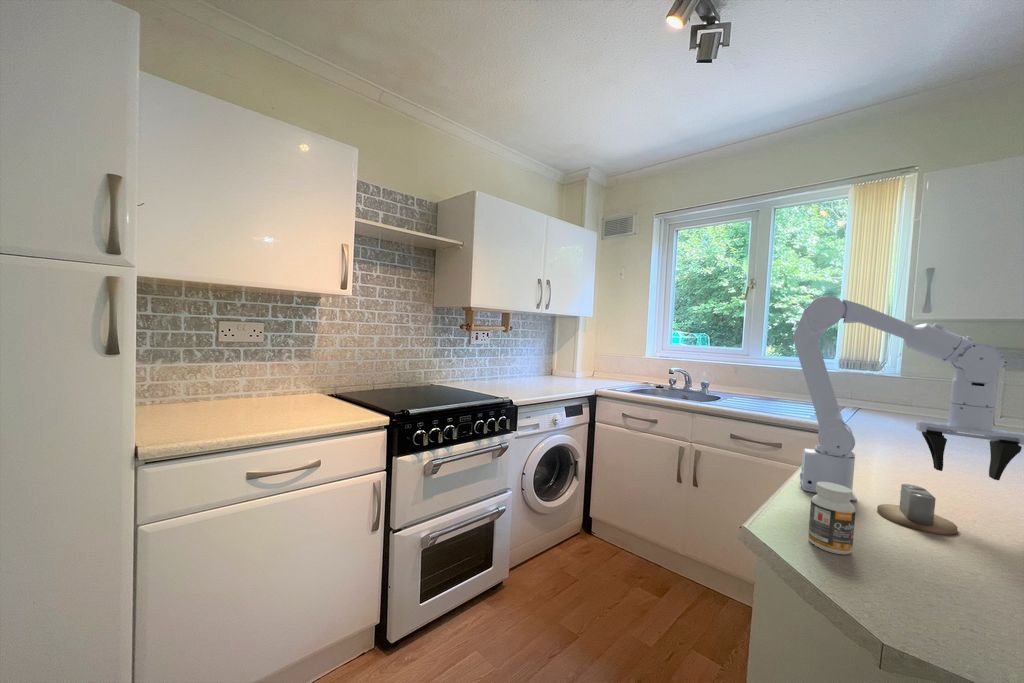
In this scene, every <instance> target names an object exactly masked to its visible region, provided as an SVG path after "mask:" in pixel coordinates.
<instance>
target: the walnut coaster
mask: <svg viewBox="0 0 1024 683" xmlns="http://www.w3.org/2000/svg"><path fill="white" fill-rule="evenodd" d="M899 508H900V504H893V503H892V504H890V503H883V504H878V505H877V509H876V510H877V513H878V514H879V515H880V516H881V517H883V518H884V519H887V520H888V521H891V522H892V523H895V524H897V525H900V526H902V527H906V528H910V529H913V530H917V531H921V532H925V533H929V534H933V535H942V536H943V535H944V536H954V535H956V534H957V533H958V526H957V525H956V524H955V523H954V522H953V521H950V520H948V519H946V518H944V517H942V516H940V515H936V514H935V513H934V522H933V526H925V525H921V524H917V523H914V522H912V521H910V520H908V519H907V518H906V517H905V515H904V514H903V513H902V512H901V511H900V509H899Z"/></svg>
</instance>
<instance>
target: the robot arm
mask: <svg viewBox="0 0 1024 683" xmlns="http://www.w3.org/2000/svg"><path fill="white" fill-rule="evenodd" d="M799 319H800V320H799V322H798V324H797V326H796V329H795V330H794V333H793V335H792V339H793V343H794V347H795V350H796V353H797V356H798V359H799V363H800V366H801V367H800V368H801V370H802V373H803V377H804V379H805V382H806V386H807V389H808V392H809V395H810V399H811V401H812V404H813V408H814V411H815V416H816V419H817V423H818V430H817V433H818V435H817V436H818V437H817V440H818V441H817V442H818V444H817V445H814V448H803V450H802V456H801V467H800V468H801V470H800V472H799V481H800V484H801V488H802V490H803V491H806V492H811V493H816V494H817V491H816V483H817V482H830V483H835V484H839V485H842V486H845V487H847V488H849V489H851V490H852V492H853V485H854V475H855V474H854V472H855V462H856V453H855V452H853V450H854V449H855V446H856V440H855V436H854V434H853V431H852V429H851V428H850V426H848V424H846V423H845V422H844V419H843V417H842V413H841V411H840V407H839V404H838V401H837V398H836V395H835V392H834V388H833V386H832V385H833V384H832V381H831V379H830V376H829V372H828V369H827V367H826V366H827V365H826V363H825V360H824V357H823V354H822V350H821V347H820V343H819V340H820V339H821V338H822V337H823V335H824V334H825V333H826V332H827V330H828V329H829V328H831V327H833V326H834V325H835V324H837V323H839V321H840V320H842V319H843V322H842V323H843V324H863V325H866V326H868V327H870V328H873V329H876V330H879V331H882V332H884V333H887V334H890V335H892V336H894V337H897V338H901V339H903V340H904V342H905V345H906V347H907V348H908V349H911V350H912V351H915V352H918V353H920V354H922V355H925V356H928V357H929V358H930V357H931V358H932V359H935V360H938V361H940V362H943V363H950V364H951V366H952V367H953V368H954V370H953V378H952V380H951V391H950V403H949V411H948V421H947V422H935V421H928V420H927V421H925V420H917V421H916V430H917V431H919V432H921V435H922V437H923V439H924V440H925V442H926V444H927V446H928V449H929V451H930V455H931V458H932V463H933V469H934V470H937V471H941V472H942V471H943V469H944V454H945V449H946V445H947V441H948V439H947V438H946V437H945V435H950V436H951V435H952V436H957V437H958V436H959V437H966V438H974V439H980V440H988V441H989V449H990V451H989V452H990V460H989V461H990V463H989V468H988V477H989V478H991V479H992V480H995V481H1000V480H1001V477H1002V475H1003V472H1004V471H1005V469H1006V467H1007V466H1008V465H1009V463H1010V462H1011V461H1012V460H1013V459H1014V458H1015V457H1016V456H1017V455H1018V454H1020V453H1021V451H1022V449H1023V448H1022V446H1024V433H1023V432H1017V431H1010V430H1009V431H1008V430H1003V429H996V428H993V426H994V425H993V424H994V414H995V407H996V405H995V404H996V398H997V397H996V396H997V385H998V384H997V375H998V371H1000V370H1001V369H1002V368H1003V366H1004V365H1005V362H1006V360H1005V359H1004V357H1003V354H1002V353H1001V352H1000V351H999V348H998V349H997V348H996V347H995V346H992V345H991V344H987V343H978V342H973V341H974V340H975V338H974V337H973V336H970V335H967V336H962V335H959V334H957V333H954V332H951V331H949V330H945V329H943V328H944V325H941V324H939V323H933V325H932V324H930V323H921V324H918V325H913V324H911V323H908V322H905V321H903V320H902V319H898V318H896V317H893V316H891V315H890V314H889V315H888V314H886V313H884V312H881V311H879V310H876V309H875V308H871V307H869V306H867V305H864V304H860V303H857V302H855V301H851V300H847V299H842V300H841V299H840V298H838V297H836V296H832V295H821V296H819V297H816V298H815V299H814V300H812V301H811V303H809V305H807V307H806V308H804V310H803V312H802V315H801V317H800V318H799ZM850 501H854V502H857V501H858V498H857V497H856V495H855V494H854V492H853V493H852V499H851V500H850Z"/></svg>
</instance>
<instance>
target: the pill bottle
mask: <svg viewBox="0 0 1024 683" xmlns="http://www.w3.org/2000/svg"><path fill="white" fill-rule="evenodd" d="M816 491H817V493H816V494H815V495H813V496H812V497H811V499H810V509H809V510H810V511H809V520H808V521H809V524H808V533H807V534H808V540H809V542H810V543H811V544H812V545H813V544H814V545H813V546H815V547H817V548H818V547H819V548H818V549H821V550H823V551H825V552H829V553H832V554H837V555H849V554H851V553H852V552H853V545H854V533H855V523H856V522H855V521H856V507H855V505H854V504H853V503H852V502H851V501H852V500H851V499H852V493H854V492H852V491H853V489H852V490H851V489H849V488H847V487H845V486H842V485H839V484H835V483H830V482H817V483H816Z"/></svg>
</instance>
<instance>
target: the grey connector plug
mask: <svg viewBox="0 0 1024 683" xmlns="http://www.w3.org/2000/svg"><path fill="white" fill-rule="evenodd" d="M899 492H900V493H899V494H900V499H899V505H900V508H899V509H900V511H901V512H902V513H903V514H904V515H905V517H906V518H907V519H908V520H910V521H912V522H914V523H917V524H921V525H925V526H933V522H934V514H935V512H936V509H935V508H936V497H935V496H934V495H933V494H931V492H929V491H928V490H927V489H926V488H923V487H921V486H918V485H914V484H908V483H901V486H900V491H899Z"/></svg>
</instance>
